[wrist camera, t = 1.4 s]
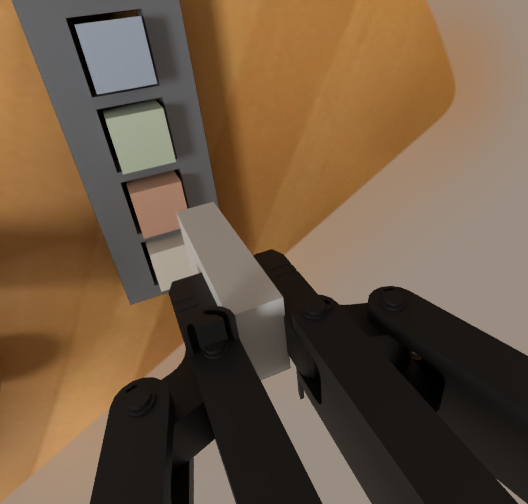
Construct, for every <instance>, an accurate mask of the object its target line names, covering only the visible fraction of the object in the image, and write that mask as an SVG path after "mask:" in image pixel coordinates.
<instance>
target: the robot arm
mask: <svg viewBox="0 0 528 504" xmlns="http://www.w3.org/2000/svg"><path fill="white" fill-rule="evenodd" d="M176 214H177V217H178V221H179V225H180V229H181V233H182V237H183V240H184V244H185V248H186V252H187V256H188V260H189V263H190V267H191V270H192V273H193V275H192V276H189V277H186V278H182V279H179V280H176V281H173V282H172V284H171V287H170V290H169V296H170V299H171V302H172V305H173V308H174V312H175V315H176V318H177V321H178V324H179V328H180V331H181V334H182V337H183V340H184V343H185V346H186V352H185V357H184V359H183V361H182V363H181V364H180V365H179V366H178V368H177V369H175V370H174V371H173V372H172V373H171V374H169V375H168V376H166V377H165V378H164V379H162V380H159V379H157V378H152V377H151V378H141V379H138V380H135V381H132V382H131V383H129V384H128V385H126V386H125V387H123V388H122V389H121V390H120V391H119V393H118V394H117V395H116V396H115V397H114V399H113V402H112V404H111V406H110V410H109V415H108V420H107V425H106V430H105V435H104V439H103V444H102V449H101V453H100V458H99V463H98V467H97V472H96V477H95V482H94V486H93V491H92V496H91V501H90V504H193V503H194V498H193V497H194V496H193V495H194V494H193V493H194V458H193V457H194V456H195V455H196V454H198V453H199V452H200V451H201V450H202V449H203V448H205V447H206V446H207V445H208V444H209V443H210V442H212V441H213V440H214V439H215V440H216V443H217V446H218V449H219V453H220V456H221V459H222V462H223V465H224V468H225V471H226V474H227V477H228V480H229V483H230V486H231V490H232V493H233V496H234V499H235V502H236V504H322V502H321V500H320V498H319V496H318V494H317V492H316V490H315V488H314V486H313V484H312V482H311V480H310V478H309V477H308V474H307V472H306V470H305V468H304V466H303V464H302V462H301V460H300V458H299V456H298V454H297V452H296V450H295V448H294V446H293V444H292V442H291V440H290V438H289V436H288V434H287V432H286V430H285V428H284V427H283V424H282V422H281V420H280V418H279V416H278V414H277V412H276V410H275V409H274V406H273V404H272V402H271V401H270V398H269V396H268V395H267V392H266V390H265V388H264V386H263V385H262V383H261V380H263V379H265V378H268V377H270V376H273V375H275V374H277V373H280V372H282V371H285V370H287V369H289V368H290V359H289V356H290V358H291V359H292V361H293V362H294V364H295V366H296V369H297V380H298V391H299V395H300V399H303V398H304V391H305V393H306V395H307V396H308V398H309V399H310V401H311V403H312V405H313V406H314V408H315V410H316V411H317V413H318V415H319V416H320V418H321V420H322V421H323V423H324V425H325V426H326V428H327V430H328V431H329V433H330V435H331V436H332V438H333V440H334V441H335V443H336V445H337V446H338V448H339V450H340V451H341V453H342V455H343V456H344V458H345V460H346V461H347V463H348V465H349V466H350V468H351V469H352V471H353V473H354V475H355V476H356V478H357V480H358V482H359V483H360V485H361V487H362V488H363V490H364V491H365V493H366V495H367V497H368V498H369V500H370V502H371V503H372V504H518V503H517V502H516V501H515V499H514V498H513V497H512V496H511V495H510V494H509V493H508V492H507V491H506V489H505V488H503V486H502V485H501V484H500V483H499V482H498V481H497V480H499V481H500V482H501V483H503V484H504V485H505V486H506V487H508V488H509V489H510V490H511V491H512V492H513V493H515V494H516V495H517V496H518V497H520V498H521V499H522V500H523V501H525V502H526V503H527V504H528V356H527V355H525V354H523V353H521V352H519V351H518V350H516V349H514V348H512V347H511V346H509V345H507V344H505V343H503V342H501V341H499V340H498V339H496V338H494V337H492V336H490V335H489V334H487V333H485V332H483V331H481V330H479V329H478V328H476V327H474V326H472V325H470V324H468V323H467V322H465V321H463V320H461V319H459V318H458V317H456V316H454V315H452V314H450V313H449V312H447V311H445V310H443V309H441V308H440V307H438V306H436V305H434V304H432V303H430V302H429V301H427V300H425V299H423V298H421V297H420V296H418V295H416V294H414V293H412V292H410V291H408V290H406V289H403V288H401V287H394V286H387V287H381V288H378V289H376V290H374V291H373V292H372V293H371V294H370V295H369V299H368V303H362V304H352V305H339V304H338V303H337V302H336V301H334V300H333V299H332V298H330V297H327V296H324V295H318V294H317V293H316V292H315V291H314V289H313V288H312V287H311V286H310V285H309V284H308V283H307V281H306V280H305V279H304V278H303V277H302V276H301V274H300V273H299V272H298V271H296V269H295V267H294V266H293V265H291V263H290V262H289V260H287V258H286V257H285V256H284V255H283V254H281V253H279V252H277V251H275V250H272V249H271V250H268V251H265V252H261V253H258V254H255V255H252V254H251V252H250V251H249V250H248V248H247V247H246V246H245V244H244V243H243V241H242V240H241V239H240V237H239V236H238V235H237V233H236V232H235V230H234V229H233V228H232V226H231V225H230V224H229V222H228V221H227V220H226V218H225V217H224V215H223V214H222V213H221V211H220V210H219V209H218V207H217V206H216V204H215V203H214V202H211V203H207V204H203V205H200V206H196V207H192V208H189V209H185V210H181V211H177V212H176ZM413 352H414V353H413ZM496 479H497V480H496Z"/></svg>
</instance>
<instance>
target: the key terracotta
mask: <svg viewBox="0 0 528 504" xmlns="http://www.w3.org/2000/svg"><path fill="white" fill-rule="evenodd" d="M126 184H127V188H128V191H129V194H130V197H131V200H132V203H133V206H134V209H135V213H136V216H137V219H138V222H139V225H140V228H141V231H142V234H143V237H144V239H145V238H149V237H152V236H156V235H159V234H163V233H166V232H170V231H173V230H177V229H180V225H179V221H178V217H177V214H176V212H177V211H181V210H185V209H187V205H186V201H185V197H184V193H183V188H182V184H181V181H180V179H179V178H178V176H177V175H176V173H175V172H174V170H171V171H167V172H163V173H159V174H155V175H151V176H147V177H142V178H138V179H134V180H130V181H126Z"/></svg>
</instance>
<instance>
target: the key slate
mask: <svg viewBox="0 0 528 504" xmlns="http://www.w3.org/2000/svg"><path fill="white" fill-rule="evenodd" d="M75 28H76V31H77V34H78V37H79V40H80V44H81V47H82V50H83V53H84V56H85V59H86V62H87V65H88V68H89V71H90V74H91V77H92V80H93V84H94V87H95V90H96V93H97V95H98V94H103V93H109V92H114V91H120V90H126V89H131V88H137V87H142V86H148V85H153V84H157V81H156V76H155V72H154V68H153V64H152V60H151V56H150V52H149V47H148V43H147V39H146V35H145V31H144V27H143V23H142V18H141V16H135V17H127V18H119V19H112V20H104V21H96V22H89V23H81V24H75Z"/></svg>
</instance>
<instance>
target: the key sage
mask: <svg viewBox="0 0 528 504" xmlns="http://www.w3.org/2000/svg"><path fill="white" fill-rule="evenodd" d="M103 114H104V117H105V120H106V123H107V127H108V130H109V133H110V136H111V139H112V142H113V145H114V148H115V151H116V154H117V157H118V160H119V163H120V166H121V170H122V173H123V174H127V173H131V172H136V171H140V170H144V169H148V168H153V167H157V166H161V165H165V164H169V163H174V162H176V159H175V155H174V151H173V147H172V143H171V139H170V134H169V130H168V126H167V122H166V118H165V114H164V110H163V107H162V106H161V105H160V104H159V103H158V102H157V101H156V100H151V101H146V102H140V103H135V104H130V105H125V106H119V107H114V108H109V109H104V110H103Z"/></svg>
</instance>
